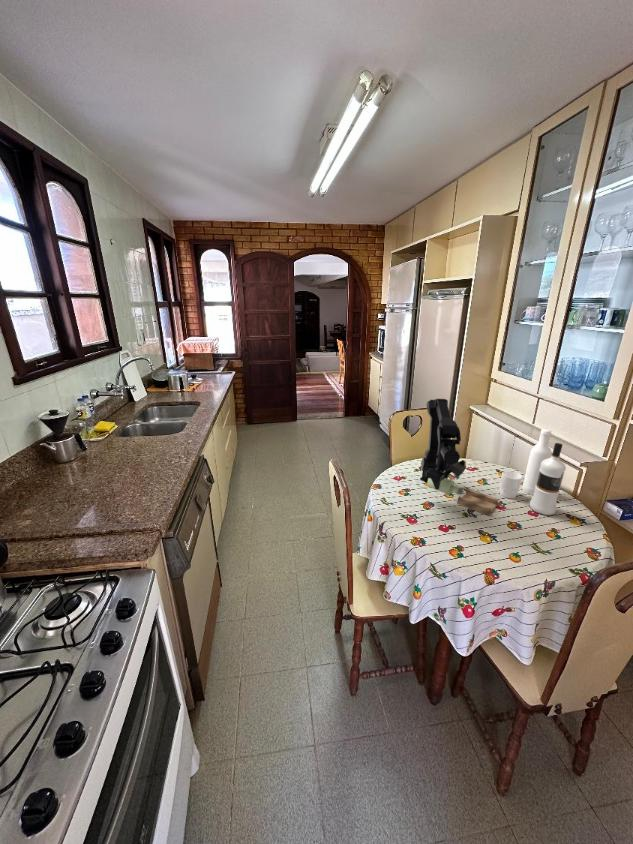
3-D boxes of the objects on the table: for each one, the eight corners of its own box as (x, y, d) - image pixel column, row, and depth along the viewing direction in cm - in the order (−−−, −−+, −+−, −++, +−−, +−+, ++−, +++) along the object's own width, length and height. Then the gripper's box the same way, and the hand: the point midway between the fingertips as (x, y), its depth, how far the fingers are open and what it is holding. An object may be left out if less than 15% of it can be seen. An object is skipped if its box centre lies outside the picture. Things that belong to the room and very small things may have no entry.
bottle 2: (545, 495, 155) (561, 433, 145) (527, 495, 155) (542, 433, 145) (535, 486, 163) (550, 426, 153) (518, 486, 163) (532, 426, 153)
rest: (457, 503, 149) (458, 497, 148) (466, 494, 156) (467, 488, 155) (488, 515, 140) (489, 509, 139) (497, 505, 148) (498, 499, 147)
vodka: (535, 501, 151) (551, 437, 141) (559, 511, 144) (577, 445, 134) (524, 507, 146) (540, 442, 136) (548, 518, 139) (566, 450, 129)
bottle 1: (426, 488, 147) (428, 476, 145) (432, 483, 151) (434, 471, 149) (457, 500, 139) (459, 487, 137) (463, 495, 143) (465, 482, 141)
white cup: (516, 501, 151) (520, 481, 147) (496, 495, 155) (500, 475, 152) (519, 493, 157) (523, 474, 153) (500, 488, 161) (504, 469, 158)
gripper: (454, 466, 129) (449, 503, 134) (473, 452, 142) (468, 485, 147) (427, 457, 136) (422, 492, 142) (447, 444, 149) (442, 476, 154)
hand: (440, 486), depth 146 cm, fingers closed on bottle 1, 6 cm apart
